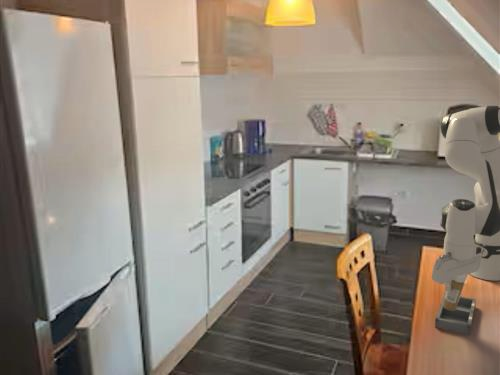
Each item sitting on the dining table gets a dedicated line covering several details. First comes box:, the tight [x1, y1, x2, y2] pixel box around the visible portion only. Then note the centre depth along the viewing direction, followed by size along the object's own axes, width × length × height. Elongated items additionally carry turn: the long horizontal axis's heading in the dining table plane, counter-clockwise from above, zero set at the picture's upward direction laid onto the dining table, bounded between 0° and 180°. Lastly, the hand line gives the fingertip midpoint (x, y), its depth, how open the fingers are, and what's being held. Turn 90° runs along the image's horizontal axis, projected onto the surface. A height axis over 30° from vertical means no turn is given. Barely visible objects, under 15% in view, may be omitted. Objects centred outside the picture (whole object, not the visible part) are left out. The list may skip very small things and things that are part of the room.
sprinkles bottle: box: [442, 273, 468, 311], centre depth 156 cm, size 5×5×14 cm
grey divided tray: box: [434, 292, 477, 336], centre depth 162 cm, size 20×10×4 cm, turn 150°
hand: (454, 288), depth 156 cm, fingers closed on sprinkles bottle, 4 cm apart
